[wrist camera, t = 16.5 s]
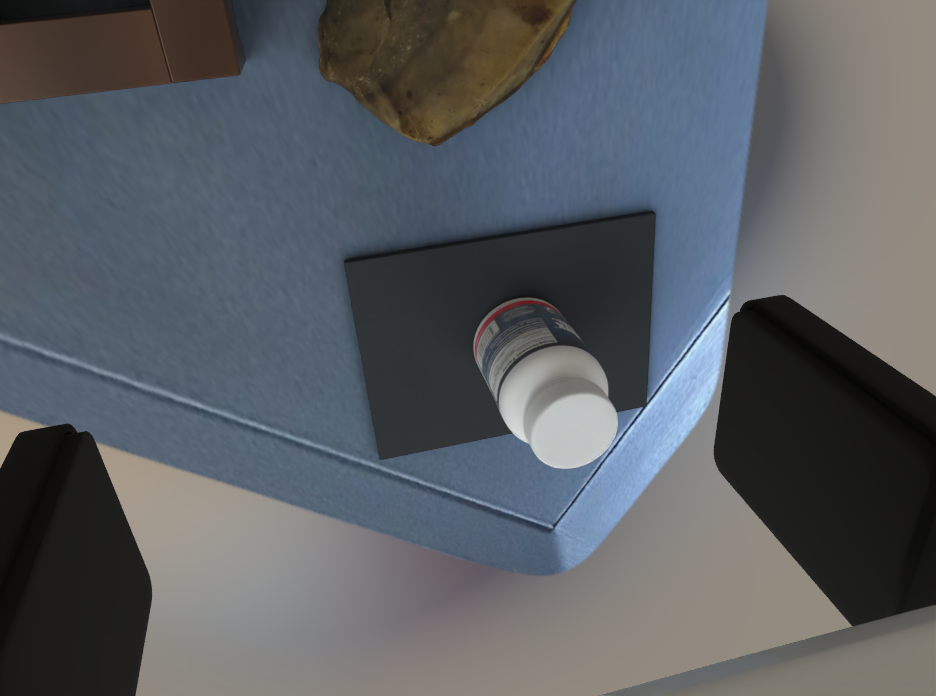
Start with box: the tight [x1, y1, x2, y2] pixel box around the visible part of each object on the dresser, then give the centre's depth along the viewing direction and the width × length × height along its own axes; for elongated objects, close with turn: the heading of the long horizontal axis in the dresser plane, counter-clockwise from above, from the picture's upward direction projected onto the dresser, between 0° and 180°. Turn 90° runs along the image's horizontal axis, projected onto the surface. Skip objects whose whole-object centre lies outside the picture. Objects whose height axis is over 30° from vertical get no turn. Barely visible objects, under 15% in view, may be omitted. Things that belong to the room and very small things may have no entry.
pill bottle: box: [474, 298, 618, 469], centre depth 35 cm, size 5×5×9 cm
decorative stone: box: [318, 0, 576, 146], centre depth 29 cm, size 10×9×4 cm
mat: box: [344, 211, 656, 460], centre depth 39 cm, size 16×12×1 cm
